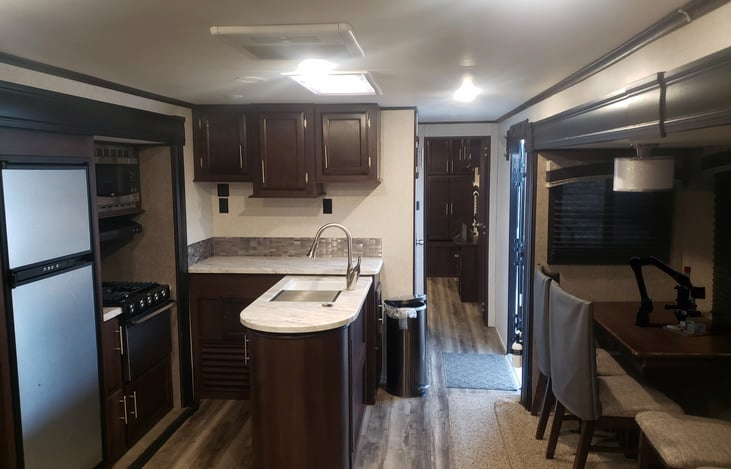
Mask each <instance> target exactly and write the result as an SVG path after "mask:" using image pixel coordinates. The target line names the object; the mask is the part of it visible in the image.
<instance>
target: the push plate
mask: <svg viewBox="0 0 731 469" xmlns="http://www.w3.org/2000/svg"><path fill="white" fill-rule="evenodd" d="M694 323H695V321H694V320H692V319H691V320H689V319H688V320H687V319H686V320H685V321H681V322H680V326H677V327H678V328H679V327H680V328H683V329H684V330H686V329H687V325H688V324H694Z"/></svg>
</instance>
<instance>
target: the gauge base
mask: <svg viewBox="0 0 731 469" xmlns="http://www.w3.org/2000/svg"><path fill="white" fill-rule="evenodd" d="M677 326H680V324H670V325H664V326H662V330H665V331H668V332H671V333H674V334H677V335H679V336H683V337H687V338H690V337H698V336H707V335H709V331H707V330H706V329H707V328H706V327H707V326H706V324H703V323H701V322H694V324H688V325H687V329H686V330H684V329H683V328H680V327H679V328H678V327H677Z"/></svg>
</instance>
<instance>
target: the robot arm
mask: <svg viewBox="0 0 731 469" xmlns="http://www.w3.org/2000/svg"><path fill="white" fill-rule="evenodd" d="M629 265H630V268H631V270H632V271H633V274H634V275H635V279H636V284H637V288H638V291H639V295H640V307H638V308H637V311H636V315H635V316H636V317H635V318H636V319H635V323H633V325H635V326H637V327H641V328H646V327H647V328H648V327H652V325H651V324H650V319H651V317H650V314H652V313H653V311H654V308H655V304H654V301H653V300H654V299H653V298H650V297H649V295H648V291H647V287H646V282H645V279H644V274H643V266H647V265H652V266H654V267H656V268H657V269H659V270H661V271H662V272H664V273H665V274H667V276H670V277H671V278H672V279H673V280H674V281H675V282H676V283H677V284H676V285H674V286H673V289H674V290H676V291H677V299H676V298H675V299H674V301H675V302H676V301H677V305H676V303H675V304H674V303H666V304H665V305H664V309H663V310H667V311H670V310H673V311H672V314H674V316H675V318H676V319H677V322H678V323H679V324H680V322H681V321H685V320H687V318H689V317H688V316H691V317H690V318H695V317H696V318H697V317H702V311H701V310H698V309H697V308H698V304H696V303H695V304H694V303H691V300H689V291H690V290H691V297H693V299H696V300H706V296H707V294H706V287H705V286H697V285H696V286H695V285H694V284H693V283H692V282H690V281H691V277H690V278H689V276H688V275H686V274H684V272H681V271H678V270H676V269H675V268H672V267H671V266H669V265H668V264H666V263H664V262H663V261H661V260H660V259H658V258H657V257H655V256H653V255H651V256H646V257H645V256H643V257H639V256H633V257H631V259H630V260H629ZM680 285H681V286H680ZM685 286H686V287H687V288H685ZM693 286H694V287H693ZM688 309H694V310H688ZM684 310H685V311H684ZM679 324H678V325H679Z"/></svg>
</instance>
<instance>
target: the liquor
mask: <svg viewBox="0 0 731 469" xmlns="http://www.w3.org/2000/svg"><path fill="white" fill-rule="evenodd" d="M691 272H692V266H687V265H685V266H684V267H683V274H686V275H688V276H689V278H690V279H691ZM690 282H691V280H690ZM691 283H692V282H691ZM679 286H681V285H680V284H679ZM694 286H695V285H693V287H694ZM685 288H687V287H686V286H685ZM675 294H676V295H675V299H677V290H676V293H675ZM689 300H691V303H694V304H696V300H697V299H693V297H691V290H690V291H689ZM675 305H677V301H675ZM688 310H694V309H688ZM684 311H685V310H684ZM687 318H692V317H691V316H688V317H687Z"/></svg>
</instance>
